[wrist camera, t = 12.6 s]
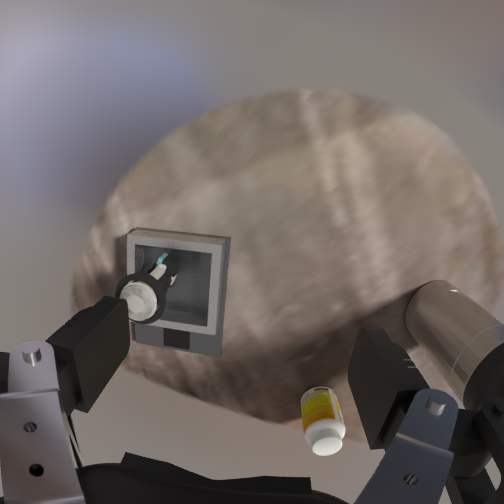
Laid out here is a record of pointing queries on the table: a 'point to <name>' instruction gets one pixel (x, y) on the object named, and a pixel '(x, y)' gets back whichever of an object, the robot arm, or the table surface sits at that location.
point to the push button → (148, 290)
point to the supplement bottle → (322, 420)
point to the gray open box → (184, 288)
